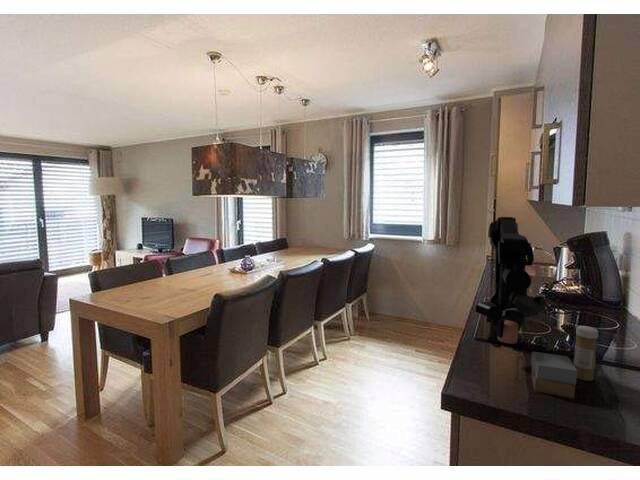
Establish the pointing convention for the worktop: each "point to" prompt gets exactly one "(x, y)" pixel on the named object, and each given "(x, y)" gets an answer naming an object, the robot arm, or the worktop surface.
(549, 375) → the grey top block
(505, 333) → the orange clay cylinder
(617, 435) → the worktop surface
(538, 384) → the beige square block
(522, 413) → the worktop surface
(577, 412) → the worktop surface
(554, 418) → the worktop surface
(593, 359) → the sprinkles bottle
